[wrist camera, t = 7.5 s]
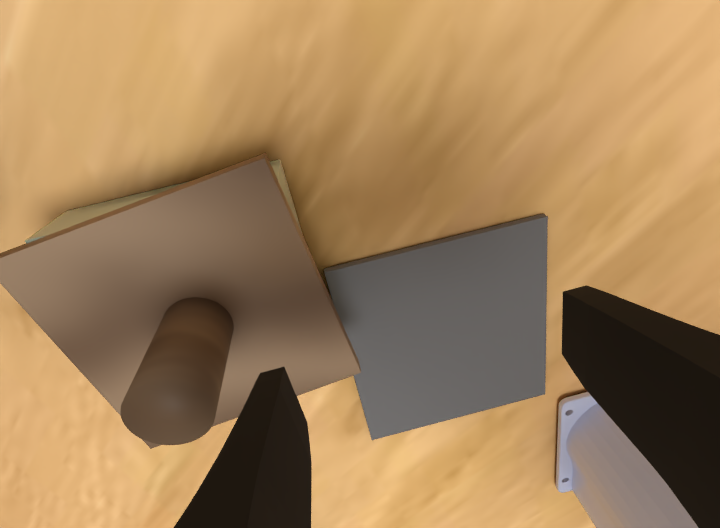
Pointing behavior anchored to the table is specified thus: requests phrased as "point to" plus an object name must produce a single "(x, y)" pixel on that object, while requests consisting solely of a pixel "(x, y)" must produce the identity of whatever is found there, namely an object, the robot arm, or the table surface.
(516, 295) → the mat
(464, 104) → the table surface
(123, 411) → the lid
